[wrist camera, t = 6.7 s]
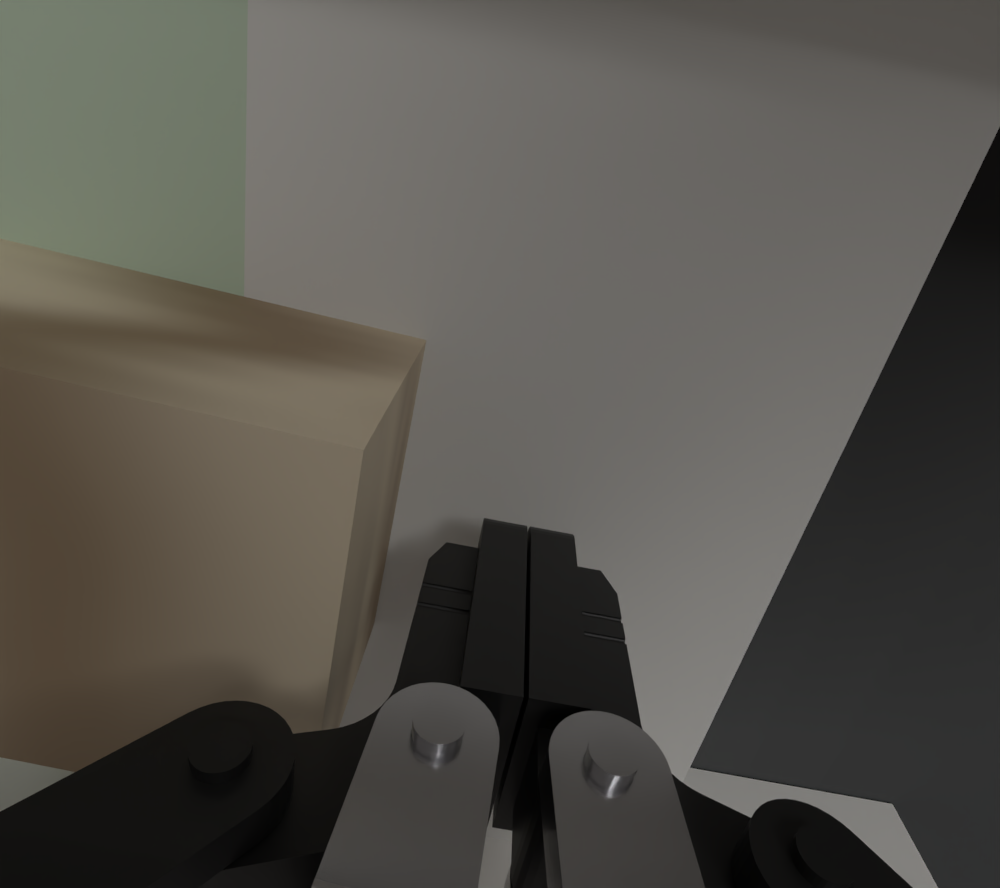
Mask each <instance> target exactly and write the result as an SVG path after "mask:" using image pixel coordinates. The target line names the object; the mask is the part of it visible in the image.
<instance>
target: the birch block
mask: <svg viewBox="0 0 1000 888" xmlns="http://www.w3.org/2000/svg"><path fill="white" fill-rule="evenodd" d="M425 345H426V340H424V339H420V338H416V337H411V336H407V335H403V334H399V333H395V332H390V331H386V330H382V329H378V328H374V327H369V326H365V325H361V324H357V323H353V322H348V321H344V320H340V319H336V318H332V317H328V316H323V315H319V314H315V313H311V312H307V311H302V310H298V309H294V308H290V307H286V306H281V305H277V304H273V303H269V302H265V301H260V300H256V299H252V298H248V297H244V296H239V295H235V294H231V293H227V292H223V291H218V290H214V289H210V288H206V287H202V286H197V285H193V284H189V283H185V282H181V281H177V280H172V279H168V278H164V277H160V276H156V275H151V274H147V273H143V272H139V271H135V270H130V269H126V268H122V267H118V266H114V265H109V264H105V263H101V262H97V261H93V260H88V259H84V258H80V257H76V256H72V255H67V254H63V253H59V252H55V251H51V250H46V249H42V248H38V247H34V246H30V245H25V244H21V243H17V242H13V241H9V240H4V239H0V757H1V758H6V759H11V760H16V761H21V762H27V763H32V764H37V765H42V766H47V767H52V768H57V769H62V770H67V771H72V772H76V771H78V770H80V769H82V768H84V767H86V766H88V765H90V764H92V763H93V762H95V761H97V760H99V759H101V758H103V757H105V756H107V755H109V754H111V753H112V752H114V751H116V750H118V749H120V748H122V747H124V746H126V745H128V744H130V743H131V742H133V741H135V740H137V739H139V738H141V737H143V736H145V735H147V734H149V733H150V732H152V731H154V730H156V729H158V728H160V727H162V726H164V725H166V724H168V723H169V722H171V721H173V720H175V719H177V718H179V717H181V716H183V715H185V714H187V713H189V712H191V711H193V710H195V709H197V708H200V707H203V706H206V705H209V704H212V703H217V702H223V701H236V700H238V701H249V702H254V703H258V704H261V705H264V706H266V707H269V708H270V709H272V710H274V711H275V712H277V713H278V714H279V715H280V716H281V717H282V718H283V719H285V721H286V722H287V724H288V725H289V727H290V728H291V731H292V733H293V734H295V733H303V732H312V731H320V730H328V729H334V728H339V726H340V723H341V720H342V717H343V714H344V711H345V708H346V705H347V702H348V700H349V697H350V694H351V691H352V688H353V685H354V682H355V679H356V676H357V673H358V670H359V667H360V664H361V661H362V658H363V655H364V652H365V649H366V647H367V644H368V641H369V638H370V635H371V632H372V629H373V626H374V622H375V617H376V611H377V606H378V600H379V595H380V589H381V584H382V579H383V573H384V568H385V562H386V557H387V551H388V546H389V541H390V535H391V530H392V524H393V519H394V513H395V508H396V502H397V497H398V492H399V486H400V481H401V475H402V470H403V464H404V459H405V454H406V448H407V443H408V437H409V432H410V426H411V421H412V416H413V410H414V405H415V399H416V394H417V388H418V383H419V377H420V372H421V367H422V361H423V356H424V350H425Z"/></svg>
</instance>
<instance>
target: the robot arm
mask: <svg viewBox="0 0 1000 888" xmlns="http://www.w3.org/2000/svg"><path fill="white" fill-rule="evenodd" d="M527 531H528V532H527ZM621 619H622V617H621V611H620V606H619V600H618V595H617V593H616V591H615V590H614V588H613V587H612V586H611V584H610V583H609V581H608V580H607V579H606V577H605V576H604V574H603V573H602V572H601V571H600V570H595V569H589V568H584V567H579V566H577V557H576V546H575V538H574V535H573V534H569V533H563V532H558V531H553V530H547V529H542V528H537V527H531V526H530V527H529V529H528V530H527V526H525V525H520V524H514V523H509V522H504V521H498V520H493V519H488V518H484V520H483V524H482V528H481V533H480V538H479V543H478V548H475V547H470V546H464V545H459V544H454V543H448V542H446V543H445V544H444V545H443V546H442V547H441V548H440V549H439V550H438V551H437V552H436V553H434V554H433V555H432V556H431V557H430V558H429V559H428V563H427V567H426V571H425V574H424V578H423V582H422V586H421V589H420V593H419V597H418V601H417V606H416V608H415V612H414V616H413V620H412V623H411V627H410V631H409V635H408V639H407V642H406V646H405V650H404V654H403V657H402V661H401V665H400V669H399V673H398V676H397V680H396V683H395V686H394V689H393V691H392V692H391V694H390V696H389V697H388V699H387V700H386V701H385V702H384V703H383V705H382V706H381V707H379V708H378V709H377V710H376V711H375V712H374V713H372V714H370V715H369V716H367V717H366V718H364V719H362V720H360V721H358V722H356V723H353V724H350V725H347V726H344V727H340V728H334V729H328V730H320V731H312V732H303V733H295V734H293V733H292V731H291V728H290V727H289V725H288V724H287V722H286V721H285V719H283V718H282V717H281V716H280V715H279V714H278V713H277V712H275V711H274V710H272V709H270V708H269V707H266V706H264V705H261V704H258V703H254V702H249V701H238V700H236V701H223V702H217V703H212V704H209V705H206V706H203V707H200V708H197V709H195V710H193V711H191V712H189V713H187V714H185V715H183V716H181V717H179V718H177V719H175V720H173V721H171V722H169V723H168V724H166V725H164V726H162V727H160V728H158V729H156V730H154V731H152V732H150V733H149V734H147V735H145V736H143V737H141V738H139V739H137V740H135V741H133V742H131V743H130V744H128V745H126V746H124V747H122V748H120V749H118V750H116V751H114V752H112V753H111V754H109V755H107V756H105V757H103V758H101V759H99V760H97V761H95V762H93V763H92V764H90V765H88V766H86V767H84V768H82V769H80V770H78V771H76V772H74V773H73V774H71V775H69V776H67V777H65V778H63V779H61V780H59V781H57V782H55V783H54V784H52V785H50V786H48V787H46V788H44V789H42V790H40V791H38V792H36V793H35V794H33V795H31V796H29V797H27V798H25V799H23V800H21V801H19V802H17V803H16V804H14V805H12V806H10V807H8V808H6V809H4V810H2V811H0V888H478V884H479V877H480V870H481V864H482V857H483V850H484V844H485V837H486V831H487V827H488V823H489V819H490V816H491V812H492V809H493V822H492V827H493V828H499V829H504V830H510V831H512V853H511V865H510V868H509V871H508V874H507V877H506V880H505V884H504V888H913V887H912V886H910V885H909V884H908V883H907V882H906V881H905V880H904V879H903V878H902V877H901V876H900V875H898V874H897V873H896V872H895V871H894V870H893V869H892V868H891V867H890V866H889V865H888V864H887V863H885V862H884V861H883V860H882V859H881V858H880V857H879V856H878V855H877V854H876V853H875V852H874V851H872V850H871V849H870V848H869V847H868V846H867V845H866V844H865V843H864V842H863V841H862V840H861V839H859V838H858V837H857V836H856V835H855V834H854V833H853V832H852V831H851V830H849V829H848V828H847V827H846V826H845V825H844V824H842V823H841V822H840V821H838V820H837V819H835V818H834V817H833V816H831V815H830V814H828V813H826V812H824V811H823V810H821V809H819V808H817V807H815V806H812V805H810V804H807V803H804V802H801V801H797V800H792V799H774V800H771V801H767V802H766V803H764V804H762V805H761V806H759V808H758V809H757V810H756V811H755V812H754V814H753V816H752V817H751V818H750V817H748V816H746V815H744V814H742V813H740V812H738V811H736V810H734V809H732V808H730V807H728V806H725V805H723V804H721V803H719V802H717V801H715V800H713V799H711V798H709V797H707V796H705V795H703V794H701V793H699V792H697V791H695V790H693V789H692V788H690V787H689V786H687V785H686V784H684V783H683V782H681V781H680V780H679V779H677V778H676V777H675V776H674V775H673V774H672V773H671V770H670V767H669V765H668V762H667V759H666V758H665V756H664V754H663V752H662V751H661V749H660V748H659V746H658V745H657V744H656V742H655V741H654V740H653V739H652V738H651V737H650V736H649V735H648V734H647V733H646V732H645V731H643V729H642V726H641V721H640V715H639V710H638V704H637V699H636V693H635V688H634V682H633V677H632V671H631V666H630V660H629V655H628V650H627V644H625V633H624V628H623V623H621ZM493 805H494V807H493Z"/></svg>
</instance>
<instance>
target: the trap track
mask: <svg viewBox="0 0 1000 888" xmlns="http://www.w3.org/2000/svg"><path fill="white" fill-rule="evenodd" d="M999 127H1000V0H0V239H4V240H9V241H13V242H17V243H21V244H25V245H30V246H34V247H38V248H42V249H46V250H51V251H55V252H59V253H63V254H67V255H72V256H76V257H80V258H84V259H88V260H93V261H97V262H101V263H105V264H109V265H114V266H118V267H122V268H126V269H130V270H135V271H139V272H143V273H147V274H151V275H156V276H160V277H164V278H168V279H172V280H177V281H181V282H185V283H189V284H193V285H197V286H202V287H206V288H210V289H214V290H218V291H223V292H227V293H231V294H235V295H239V296H244V297H248V298H252V299H256V300H260V301H265V302H269V303H273V304H277V305H281V306H286V307H290V308H294V309H298V310H302V311H307V312H311V313H315V314H319V315H323V316H328V317H332V318H336V319H340V320H344V321H348V322H353V323H357V324H361V325H365V326H369V327H374V328H378V329H382V330H386V331H390V332H395V333H399V334H403V335H407V336H411V337H416V338H420V339H424V340H426V345H425V350H424V356H423V361H422V367H421V372H420V377H419V383H418V388H417V394H416V399H415V405H414V410H413V416H412V421H411V426H410V432H409V437H408V443H407V448H406V454H405V459H404V464H403V470H402V475H401V481H400V486H399V492H398V497H397V502H396V508H395V513H394V519H393V524H392V530H391V535H390V541H389V546H388V551H387V557H386V562H385V568H384V573H383V579H382V584H381V589H380V595H379V600H378V606H377V611H376V617H375V622H374V626H373V629H372V632H371V635H370V638H369V641H368V644H367V647H366V649H365V652H364V655H363V658H362V661H361V664H360V667H359V670H358V673H357V676H356V679H355V682H354V685H353V688H352V691H351V694H350V697H349V700H348V702H347V705H346V708H345V711H344V714H343V717H342V720H341V723H340V726H339V728H340V727H344V726H347V725H350V724H353V723H356V722H358V721H360V720H362V719H364V718H366V717H367V716H369V715H370V714H372V713H374V712H375V711H376V710H377V709H378V708H379V707H381V706H382V705H383V703H384V702H385V701H386V700H387V699H388V697H389V696H390V694H391V692H392V691H393V689H394V686H395V683H396V680H397V676H398V673H399V669H400V665H401V661H402V657H403V654H404V650H405V646H406V642H407V639H408V635H409V631H410V627H411V623H412V620H413V616H414V612H415V608H416V606H417V601H418V597H419V593H420V589H421V586H422V582H423V578H424V574H425V571H426V567H427V563H428V559H429V558H430V557H431V556H432V555H433V554H434V553H436V552H437V551H438V550H439V549H440V548H441V547H442V546H443V545H444V544H445V543H446V542H448V543H454V544H459V545H464V546H470V547H475V548H478V543H479V538H480V533H481V528H482V524H483V520H484V518H488V519H493V520H498V521H504V522H509V523H514V524H520V525H525V526H527V530H528V529H529V527H530V526H531V527H537V528H542V529H547V530H553V531H558V532H563V533H569V534H573V535H574V538H575V546H576V557H577V566H579V567H584V568H589V569H595V570H600V571H601V572H602V573H603V574H604V576H605V577H606V579H607V580H608V581H609V583H610V584H611V586H612V587H613V588H614V590H615V591H616V593H617V595H618V600H619V606H620V611H621V617H622V619H621V623H623V628H624V633H625V644H627V650H628V655H629V660H630V666H631V671H632V677H633V682H634V688H635V693H636V699H637V704H638V710H639V715H640V721H641V726H642V729H643V731H645V732H646V733H647V734H648V735H649V736H650V737H651V738H652V739H653V740H654V741H655V742H656V744H657V745H658V746H659V748H660V749H661V751H662V752H663V754H664V756H665V758H666V759H667V762H668V765H669V767H670V770H671V773H672V774H673V775H674V776H675V777H676V778H677V779H679V780H680V781H681V782H683V783H684V784H686V785H687V786H689V787H690V788H692V789H693V790H695V791H697V792H699V793H701V794H703V795H705V796H707V797H709V798H711V799H713V800H715V801H717V802H719V803H721V804H723V805H725V806H728V807H730V808H732V809H734V810H736V811H738V812H740V813H742V814H744V815H746V816H748V817H750V818H751V817H752V816H753V814H754V812H755V811H756V810H757V809H758V808H759V806H761V805H762V804H764V803H766V802H767V801H771V800H774V799H792V800H797V801H801V802H804V803H807V804H810V805H812V806H815V807H817V808H819V809H821V810H823V811H824V812H826V813H828V814H830V815H831V816H833V817H834V818H835V819H837V820H838V821H840V822H841V823H842V824H844V825H845V826H846V827H847V828H848V829H849V830H851V831H852V832H853V833H854V834H855V835H856V836H857V837H858V838H859V839H861V840H862V841H863V842H864V843H865V844H866V845H867V846H868V847H869V848H870V849H871V850H872V851H874V852H875V853H876V854H877V855H878V856H879V857H880V858H881V859H882V860H883V861H884V862H885V863H887V864H888V865H889V866H890V867H891V868H892V869H893V870H894V871H895V872H896V873H897V874H898V875H900V876H901V877H902V878H903V879H904V880H905V881H906V882H907V883H908V884H909V885H910V886H912V887H913V888H938V887H937V885H936V883H935V881H934V880H933V878H932V876H931V874H930V872H929V870H928V869H927V867H926V865H925V863H924V861H923V859H922V858H921V856H920V854H919V852H918V850H917V848H916V847H915V845H914V843H913V841H912V839H911V837H910V835H909V834H908V832H907V830H906V828H905V826H904V824H903V823H902V821H901V819H900V817H899V815H898V813H897V812H896V810H895V808H894V806H893V804H890V803H884V802H879V801H873V800H868V799H862V798H856V797H851V796H845V795H840V794H834V793H828V792H823V791H817V790H812V789H806V788H801V787H795V786H789V785H784V784H778V783H773V782H767V781H762V780H756V779H750V778H745V777H739V776H734V775H728V774H722V773H717V772H711V771H706V770H700V769H695V768H690V766H691V764H692V762H693V760H694V758H695V756H696V754H697V752H698V749H699V747H700V745H701V743H702V741H703V739H704V737H705V735H706V733H707V731H708V729H709V727H710V725H711V723H712V721H713V718H714V716H715V714H716V712H717V710H718V708H719V706H720V704H721V702H722V700H723V698H724V696H725V694H726V692H727V690H728V687H729V685H730V683H731V681H732V679H733V677H734V675H735V673H736V671H737V669H738V667H739V665H740V663H741V661H742V659H743V656H744V654H745V652H746V650H747V648H748V646H749V644H750V642H751V640H752V638H753V636H754V634H755V632H756V630H757V628H758V625H759V623H760V621H761V619H762V617H763V615H764V613H765V611H766V609H767V607H768V605H769V603H770V601H771V599H772V597H773V594H774V592H775V590H776V588H777V586H778V584H779V582H780V580H781V578H782V576H783V574H784V572H785V570H786V568H787V566H788V563H789V561H790V559H791V557H792V555H793V553H794V551H795V549H796V547H797V545H798V543H799V541H800V539H801V537H802V535H803V532H804V530H805V528H806V526H807V524H808V522H809V520H810V518H811V516H812V514H813V512H814V510H815V508H816V506H817V503H818V501H819V499H820V497H821V495H822V493H823V491H824V489H825V487H826V485H827V483H828V481H829V479H830V477H831V475H832V472H833V470H834V468H835V466H836V464H837V462H838V460H839V458H840V456H841V454H842V452H843V450H844V448H845V446H846V444H847V441H848V439H849V437H850V435H851V433H852V431H853V429H854V427H855V425H856V423H857V421H858V419H859V417H860V415H861V413H862V410H863V408H864V406H865V404H866V402H867V400H868V398H869V396H870V394H871V392H872V390H873V388H874V386H875V384H876V382H877V379H878V377H879V375H880V373H881V371H882V369H883V367H884V365H885V363H886V361H887V359H888V357H889V355H890V353H891V351H892V348H893V346H894V344H895V342H896V340H897V338H898V336H899V334H900V332H901V330H902V328H903V326H904V324H905V322H906V320H907V317H908V315H909V313H910V311H911V309H912V307H913V305H914V303H915V301H916V299H917V297H918V295H919V293H920V291H921V289H922V286H923V284H924V282H925V280H926V278H927V276H928V274H929V272H930V270H931V268H932V266H933V264H934V262H935V260H936V257H937V255H938V253H939V251H940V249H941V247H942V245H943V243H944V241H945V239H946V237H947V235H948V233H949V231H950V229H951V226H952V224H953V222H954V220H955V218H956V216H957V214H958V212H959V210H960V208H961V206H962V204H963V202H964V200H965V198H966V195H967V193H968V191H969V189H970V187H971V185H972V183H973V181H974V179H975V177H976V175H977V173H978V171H979V169H980V167H981V164H982V162H983V160H984V158H985V156H986V154H987V152H988V150H989V148H990V146H991V144H992V142H993V140H994V138H995V136H996V133H997V131H998V129H999ZM527 532H528V531H527ZM73 773H74V772H72V771H67V770H62V769H57V768H52V767H47V766H42V765H37V764H32V763H27V762H21V761H16V760H11V759H6V758H1V757H0V811H2V810H4V809H6V808H8V807H10V806H12V805H14V804H16V803H17V802H19V801H21V800H23V799H25V798H27V797H29V796H31V795H33V794H35V793H36V792H38V791H40V790H42V789H44V788H46V787H48V786H50V785H52V784H54V783H55V782H57V781H59V780H61V779H63V778H65V777H67V776H69V775H71V774H73ZM493 807H494V805H493ZM492 822H493V809H492V812H491V816H490V819H489V823H488V827H487V831H486V837H485V844H484V850H483V857H482V864H481V870H480V877H479V884H478V888H504V884H505V880H506V877H507V874H508V871H509V868H510V865H511V853H512V831H510V830H504V829H499V828H493V827H492Z"/></svg>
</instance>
